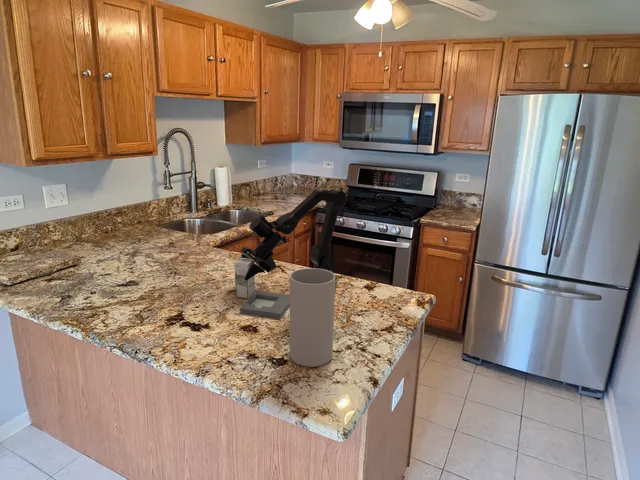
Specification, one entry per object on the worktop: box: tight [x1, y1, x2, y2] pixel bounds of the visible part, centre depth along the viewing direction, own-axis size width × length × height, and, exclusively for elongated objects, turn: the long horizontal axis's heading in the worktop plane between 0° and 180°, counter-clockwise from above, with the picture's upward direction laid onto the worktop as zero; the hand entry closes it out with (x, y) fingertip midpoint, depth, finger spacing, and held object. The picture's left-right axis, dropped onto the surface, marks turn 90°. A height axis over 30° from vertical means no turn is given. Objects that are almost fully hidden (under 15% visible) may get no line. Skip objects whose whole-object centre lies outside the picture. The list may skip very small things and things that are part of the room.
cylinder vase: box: [289, 267, 336, 368], centre depth 121 cm, size 12×12×25 cm
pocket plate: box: [239, 290, 290, 320], centre depth 155 cm, size 15×16×2 cm
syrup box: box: [233, 257, 256, 300], centre depth 162 cm, size 6×6×14 cm
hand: (241, 276), depth 161 cm, fingers closed on syrup box, 8 cm apart
